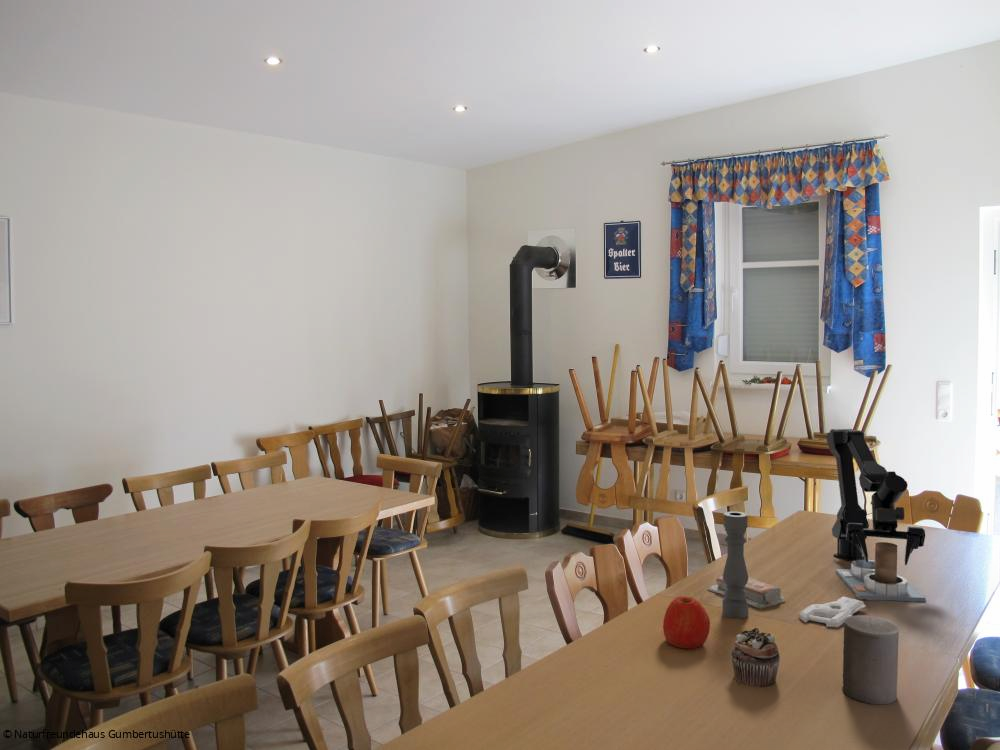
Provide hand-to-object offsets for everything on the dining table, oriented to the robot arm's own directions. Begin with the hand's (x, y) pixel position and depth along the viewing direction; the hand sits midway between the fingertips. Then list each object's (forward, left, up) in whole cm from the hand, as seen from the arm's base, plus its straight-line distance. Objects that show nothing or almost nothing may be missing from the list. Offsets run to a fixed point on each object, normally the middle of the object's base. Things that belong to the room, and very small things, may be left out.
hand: (886, 562), depth 211 cm
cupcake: (+23, -65, -9) cm, 70 cm away
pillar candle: (+38, -50, -9) cm, 63 cm away
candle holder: (-7, -44, -9) cm, 45 cm away
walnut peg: (-1, +1, -8) cm, 8 cm away
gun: (+5, -24, -9) cm, 26 cm away
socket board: (-6, +4, -9) cm, 11 cm away
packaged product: (-16, -32, -9) cm, 37 cm away
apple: (+2, -66, -9) cm, 67 cm away
